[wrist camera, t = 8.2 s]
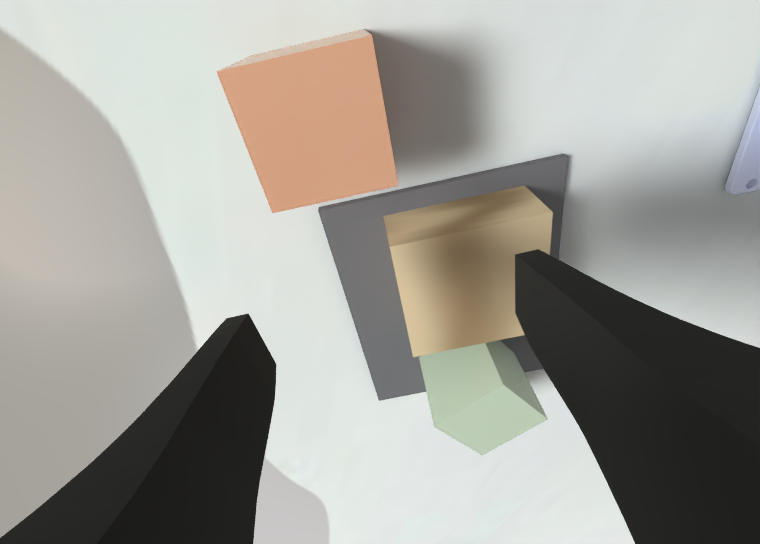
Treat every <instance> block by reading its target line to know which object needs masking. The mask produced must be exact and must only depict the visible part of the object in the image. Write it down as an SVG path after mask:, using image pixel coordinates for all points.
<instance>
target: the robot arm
mask: <svg viewBox="0 0 760 544" xmlns="http://www.w3.org/2000/svg"><path fill="white" fill-rule="evenodd" d="M747 182H748V183H747ZM725 190H726V192H728V193H731V194H733V195H738V194H743V193H747V192H752V191H757V190H760V88H759V90H758V93H757V96H756V99H755V102H754V105H753V108H752V111H751V113H750V116H749V119H748V122H747V125H746V128H745V131H744V134H743V136H742V139H741V142H740V145H739V148H738V151H737V154H736V156H735V159H734V162H733V165H732V168H731V171H730V174H729V177H728V179H727V182H726V185H725ZM515 314H516V316H517V318H518V320H519V323H520V325H521V327H522V330H523V332H524V334H525V336H526V338H527V341H528V343H529V345H530V347H531V348H532V350H533V352H534V353H535V355H536V357H537V358H538V360H539V362H540V363H541V365H542V366H543V368H544V370H545V371H546V373H547V375H548V376H549V378H550V379H551V381H552V383H553V384H554V386H555V388H556V389H557V391H558V392H559V394H560V396H561V397H562V399H563V400H564V402H565V404H566V405H567V407H568V409H569V410H570V412H571V413H572V415H573V417H574V418H575V420H576V422H577V423H578V425H579V427H580V429H581V431H582V432H583V434H584V436H585V438H586V440H587V442H588V444H589V446H590V448H591V450H592V452H593V454H594V456H595V458H596V460H597V462H598V464H599V466H600V468H601V470H602V472H603V474H604V477H605V479H606V481H607V483H608V485H609V487H610V489H611V492H612V494H613V496H614V498H615V500H616V502H617V504H618V506H619V509H620V511H621V513H622V515H623V517H624V519H625V522H626V524H627V526H628V528H629V531H630V533H631V535H632V537H633V540H634V542H635V544H760V348H758V347H755V346H752V345H749V344H745V343H742V342H740V341H737V340H734V339H731V338H728V337H725V336H722V335H720V334H717V333H714V332H712V331H709V330H706V329H704V328H701V327H699V326H696V325H693V324H691V323H688V322H686V321H683V320H680V319H678V318H676V317H673V316H671V315H668V314H666V313H664V312H661V311H659V310H657V309H655V308H653V307H650V306H648V305H646V304H644V303H642V302H639V301H637V300H635V299H633V298H631V297H629V296H627V295H625V294H623V293H620V292H618V291H616V290H614V289H612V288H610V287H608V286H606V285H605V284H603V283H601V282H599V281H597V280H595V279H593V278H591V277H589V276H587V275H586V274H584V273H582V272H580V271H578V270H576V269H574V268H573V267H571V266H569V265H567V264H565V263H564V262H562V261H560V260H558V259H556V258H554V257H553V256H551V255H549V254H547V253H545V252H543V251H541V250H539V249H537V250H533V251H528V252H524V253H519V254H515ZM275 385H276V363H275V361H274V359H273V358H272V356H271V354H270V352H269V350H268V348H267V347H266V345H265V343H264V341H263V339H262V338H261V336H260V334H259V332H258V330H257V328H256V327H255V325H254V323H253V321H252V319H251V318H250V316H249V314H245V315H240V316H236V317H231V318H227V319H226V320H225V321H224V322H223V323H222V324H221V325H220V326H219V327H218V328H217V329H216V331H215V332H214V333H213V334H212V335H211V336H210V337H209V339H208V340H207V341H206V342H205V343H204V344H203V346H202V347H201V348H200V349H199V350H198V352H197V353H196V354H195V355H194V356H193V357H192V359H191V360H190V361H189V362H188V363H187V364H186V366H185V367H184V368H183V369H182V370H181V371H180V372H179V374H178V375H177V376H176V377H175V378H174V380H173V381H172V382H171V383H170V384H169V385H168V386H167V387H166V388H165V389H164V390H163V392H162V393H161V394H160V395H159V396H158V397H157V398H156V399H155V400H154V401H153V402H152V403H151V404H150V406H149V407H148V408H147V409H146V410H145V411H144V412H143V413H142V414H141V415H140V416H139V417H138V418H137V419H136V420H135V421H134V423H132V424H131V426H129V427H128V429H126V430H125V432H123V433H122V434H121V435H120V436H119V437H118V438H117V439H116V440H115V441H114V442H113V443H112V444H111V445H110V446H109V447H108V448H107V449H106V450H105V451H103V452H102V453H101V454H100V455H99V456H98V457H97V458H96V459H95V460H94V461H93V462H92V463H91V464H89V465H88V466H87V467H86V468H85V469H84V470H82V471H81V472H80V473H79V474H78V475H77V476H76V477H74V478H73V479H72V480H71V481H70V482H68V483H67V484H66V485H65V486H64V487H63V488H61V489H60V490H59V491H58V492H57V493H56V494H54V495H53V496H52V497H51V498H50V499H49V500H47V501H46V502H45V503H44V504H43V505H41V506H40V507H39V508H38V509H36V510H35V511H34V512H33V513H32V514H30V515H29V516H28V517H26V518H25V519H24V520H23V521H21V522H20V523H19V524H18V525H16V526H15V527H14V528H13V529H11V530H10V531H9V532H8V533H6V534H5V535H4V536H2V537H1V538H0V544H253V538H254V526H255V515H256V503H257V496H258V489H259V482H260V476H261V471H262V466H263V460H264V455H265V450H266V444H267V439H268V434H269V428H270V423H271V417H272V412H273V406H274V400H275Z"/></svg>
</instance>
